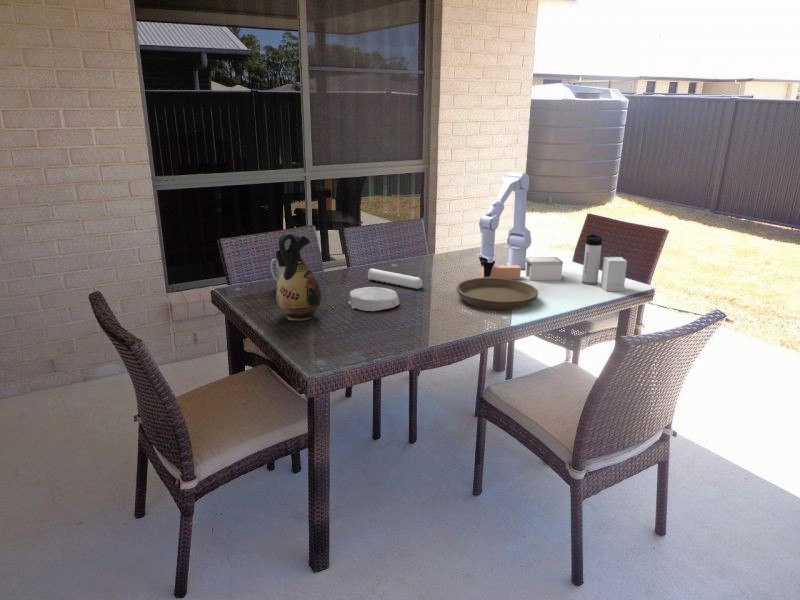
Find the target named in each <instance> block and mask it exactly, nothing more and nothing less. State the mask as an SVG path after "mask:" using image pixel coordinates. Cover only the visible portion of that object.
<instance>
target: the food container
mask: <svg viewBox="0 0 800 600" xmlns="http://www.w3.org/2000/svg"><path fill="white" fill-rule="evenodd" d="M349 297H350V298H349V301H348V303H347V304H348V305H350V306H351V307H350V308H352V309H353V310H354V309H358V310H360V311H364V312H365V311H367V312H368V311H370V312H376V311H382V310H388V309H393V308H395V307H397V306H399V305H400V299H399V294H398V293H397V291H395V290H394V289H392V288H386V287H378V286H364V287H359V288H354V289H352V290H350V291H349Z"/></svg>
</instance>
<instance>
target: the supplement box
mask: <svg viewBox="0 0 800 600" xmlns="http://www.w3.org/2000/svg"><path fill="white" fill-rule="evenodd" d="M627 266H628V261H627V260H626V259H625V258H623V257H622V256H603V261H602V271H601V279H600V287H601V288H602V289H603V290H604V291H606V292H624V291H625V282H626V276H627V275H626V273H627Z"/></svg>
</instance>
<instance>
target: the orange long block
mask: <svg viewBox="0 0 800 600" xmlns="http://www.w3.org/2000/svg"><path fill="white" fill-rule="evenodd" d="M521 272H522V269H521V267H520V266H519V265H507V264H506V265H493V268H492V270H491V274H490V277H485V275H484V267H483V266H482V267H481V277H480V278H504V279H511V280H521Z"/></svg>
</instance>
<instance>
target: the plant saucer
mask: <svg viewBox="0 0 800 600" xmlns="http://www.w3.org/2000/svg"><path fill="white" fill-rule="evenodd" d="M456 292H457V294H458V295H459V296H460V297H461V299H462V300H463V301H464V302H465V303H466V304H468V305H472V306H474V307H478V308H481V309H486V310H494V311H495V310H496V311H497V310H499V311H504V310H505V311H506V310H507V311H508V310H509V309H510V310H517V309H522V308H525V307H528V306H529V305H530V304H531V303H532V302H533V301H535V300H536V299H537V298H538V295H539V290H538V289H537V288H536V287H535V286H533V285H531V284H530V283H527V282H524V281H520V280H517V279H504V278H482V277H477V278H470V279H465V280H463V281H460V282H459V283H458V284H457V286H456Z"/></svg>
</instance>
